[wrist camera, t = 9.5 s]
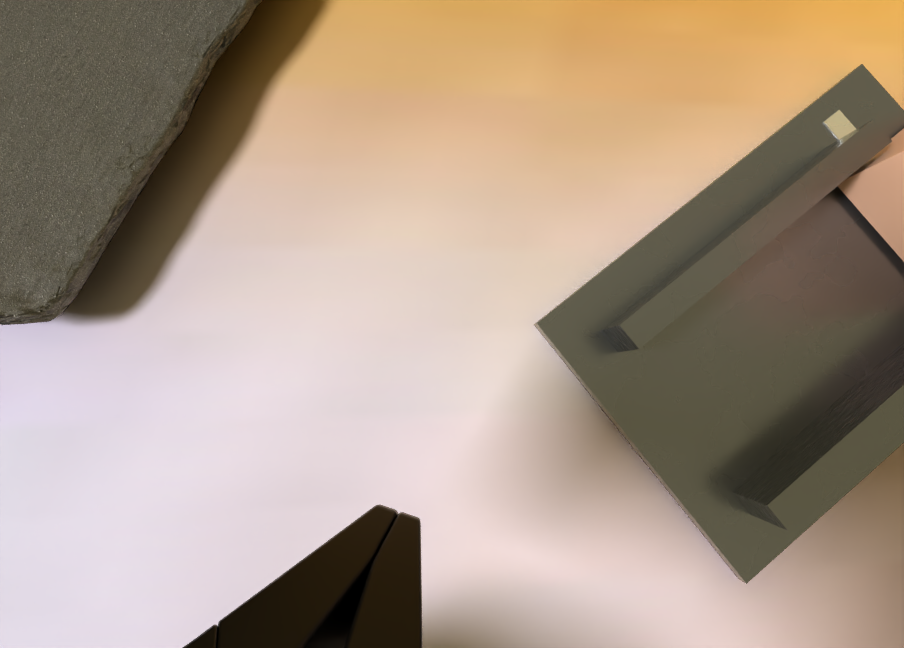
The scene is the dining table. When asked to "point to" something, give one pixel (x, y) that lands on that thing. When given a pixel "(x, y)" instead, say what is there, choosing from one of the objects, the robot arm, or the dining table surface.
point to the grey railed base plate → (756, 334)
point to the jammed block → (881, 192)
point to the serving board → (90, 127)
